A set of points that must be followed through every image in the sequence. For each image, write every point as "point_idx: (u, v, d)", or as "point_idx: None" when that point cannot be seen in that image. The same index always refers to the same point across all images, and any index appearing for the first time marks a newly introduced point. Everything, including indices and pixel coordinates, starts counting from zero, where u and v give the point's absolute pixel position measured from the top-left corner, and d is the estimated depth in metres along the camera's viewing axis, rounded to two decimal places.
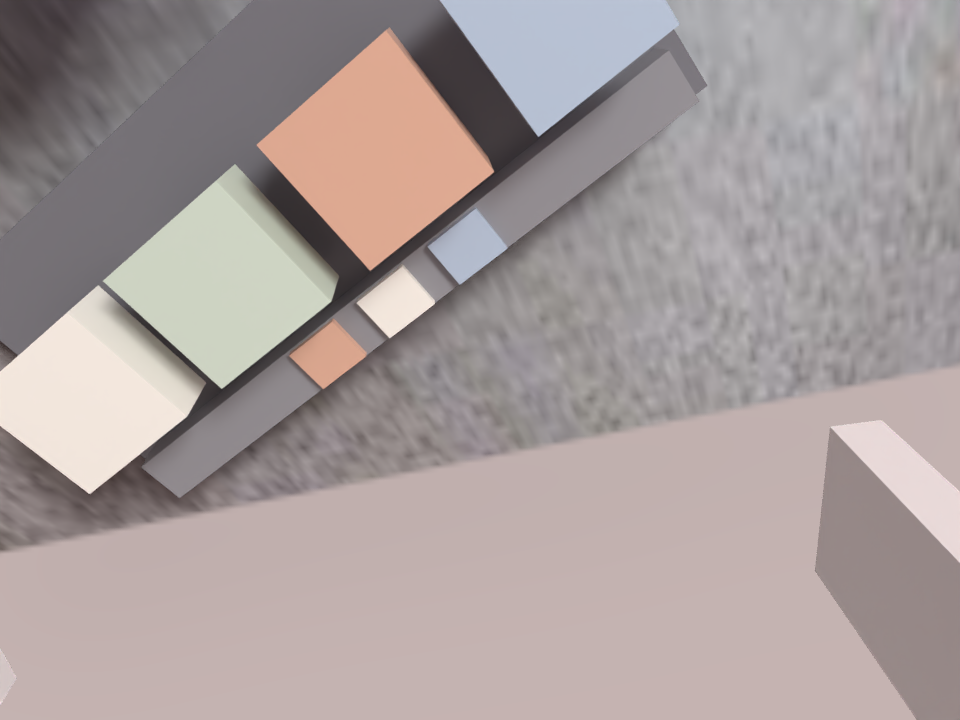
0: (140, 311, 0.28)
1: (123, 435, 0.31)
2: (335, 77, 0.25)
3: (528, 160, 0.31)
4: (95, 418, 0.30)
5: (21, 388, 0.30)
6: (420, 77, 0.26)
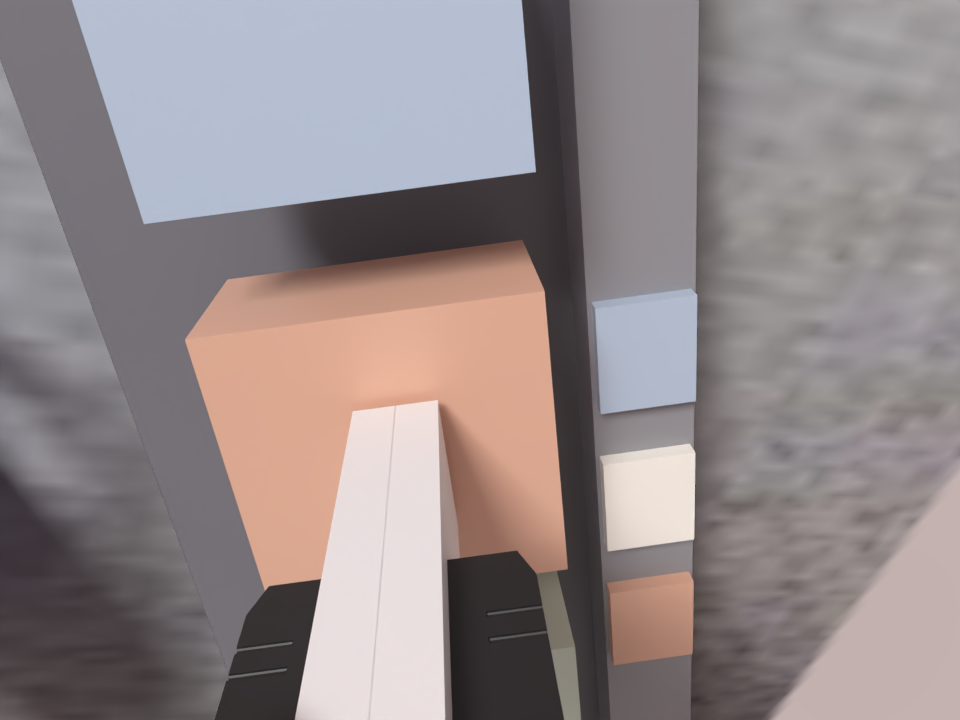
0: None
1: None
2: (225, 456, 0.13)
3: (577, 167, 0.15)
4: None
5: None
6: (297, 326, 0.12)
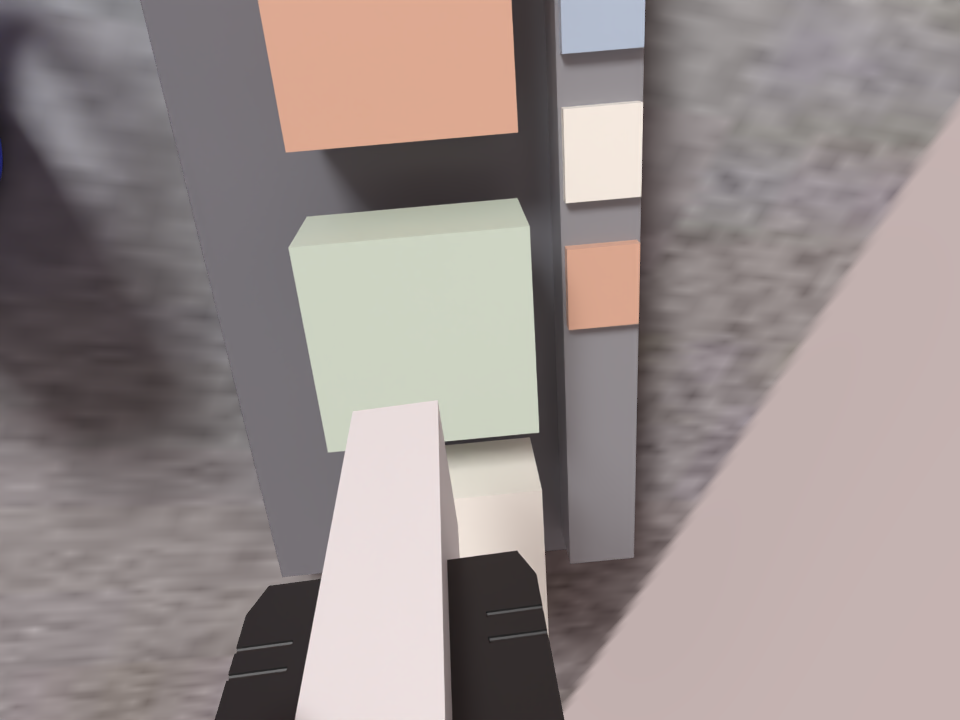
0: None
1: None
2: None
3: None
4: None
5: None
6: None
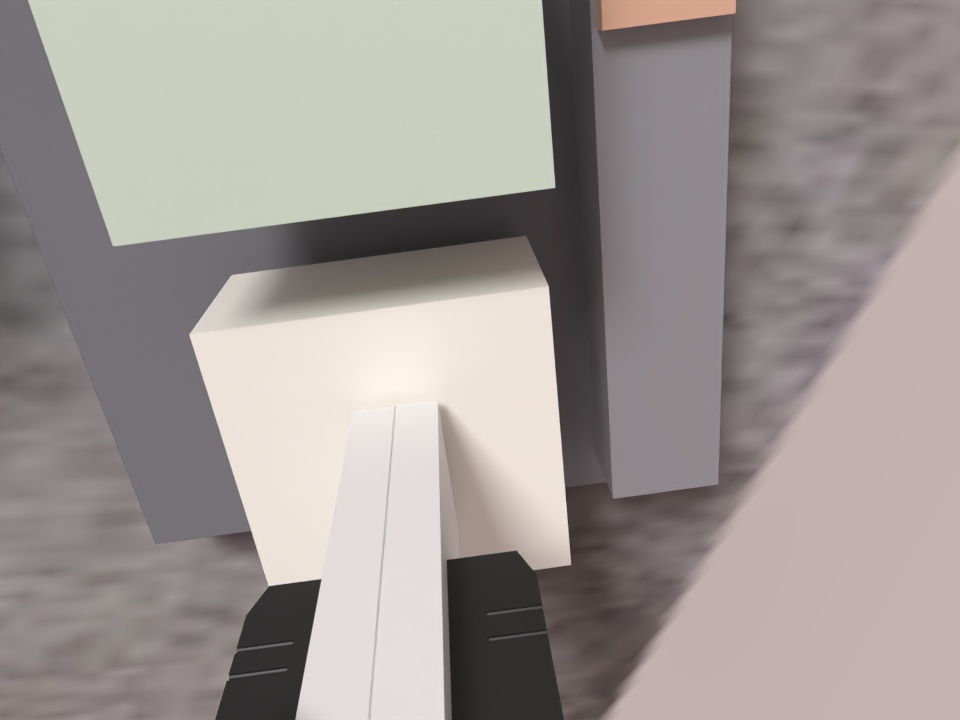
0: (237, 221, 0.10)
1: (503, 430, 0.13)
2: None
3: None
4: None
5: (301, 517, 0.14)
6: None
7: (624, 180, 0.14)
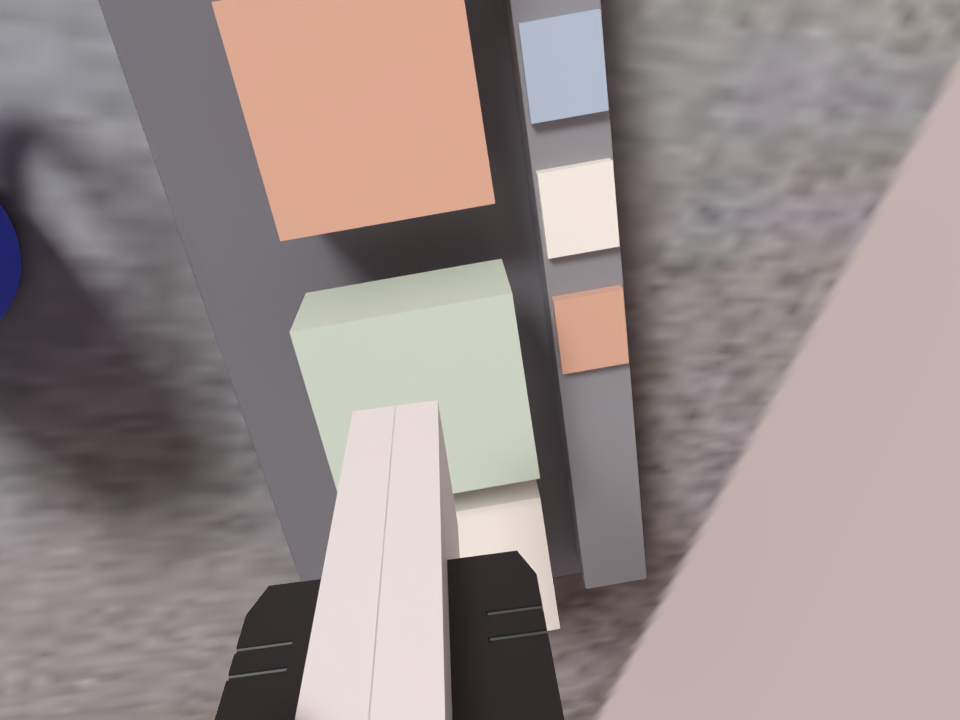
0: None
1: None
2: (242, 101, 0.19)
3: None
4: None
5: None
6: None
7: (579, 432, 0.26)
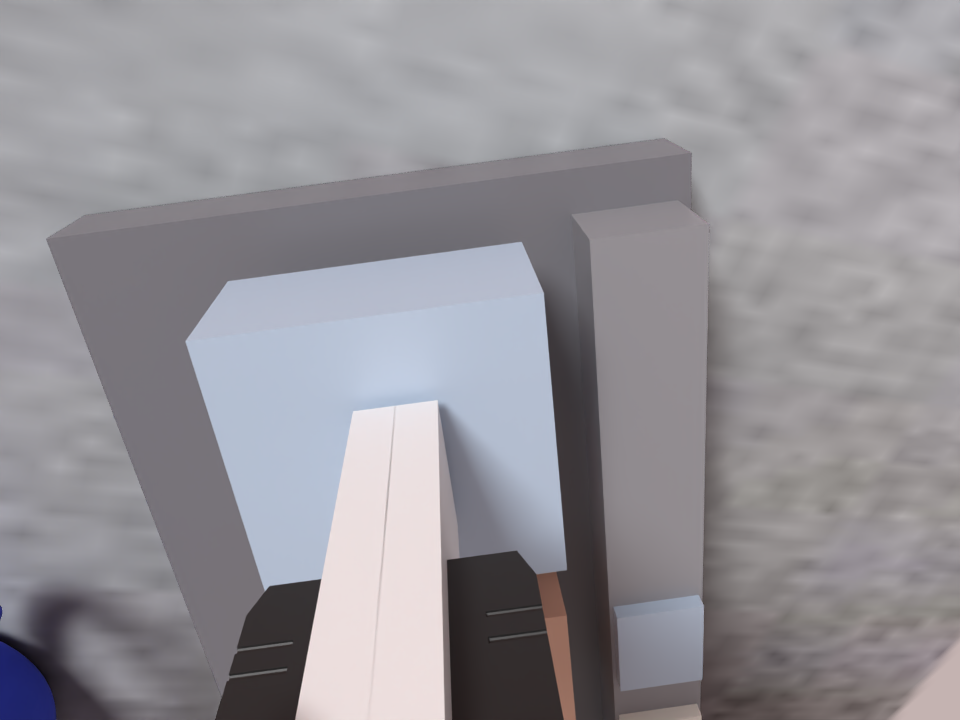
0: None
1: None
2: None
3: (602, 512, 0.18)
4: None
5: None
6: None
7: None
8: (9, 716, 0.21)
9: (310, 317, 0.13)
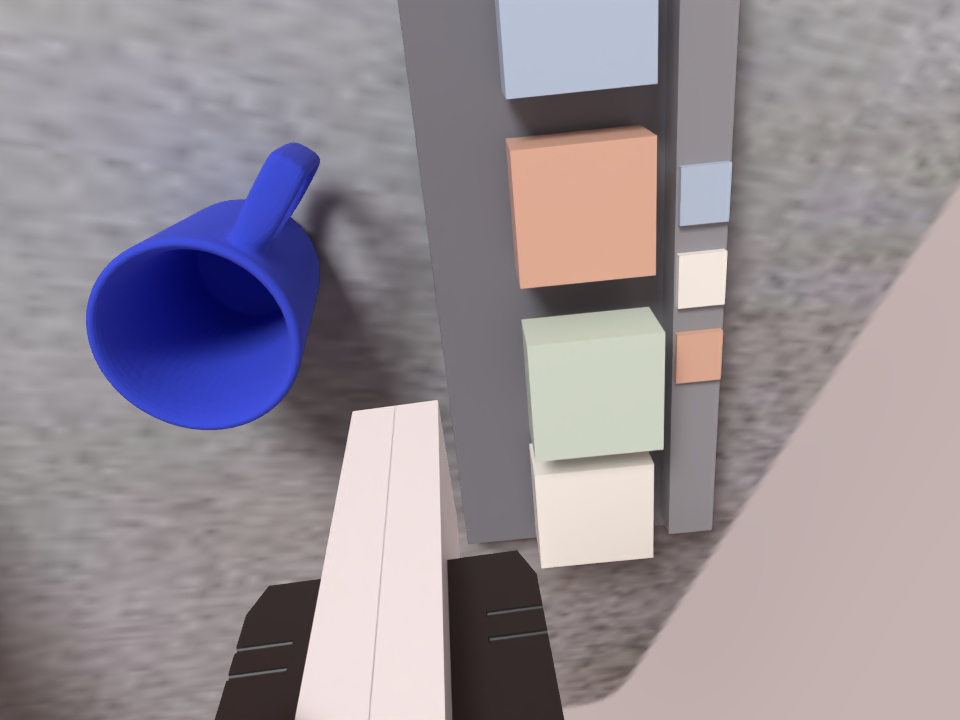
0: (571, 456, 0.35)
1: (633, 509, 0.38)
2: (515, 206, 0.31)
3: (676, 96, 0.31)
4: (609, 514, 0.38)
5: (558, 536, 0.39)
6: (555, 146, 0.30)
7: (680, 423, 0.38)
8: (308, 247, 0.35)
9: None
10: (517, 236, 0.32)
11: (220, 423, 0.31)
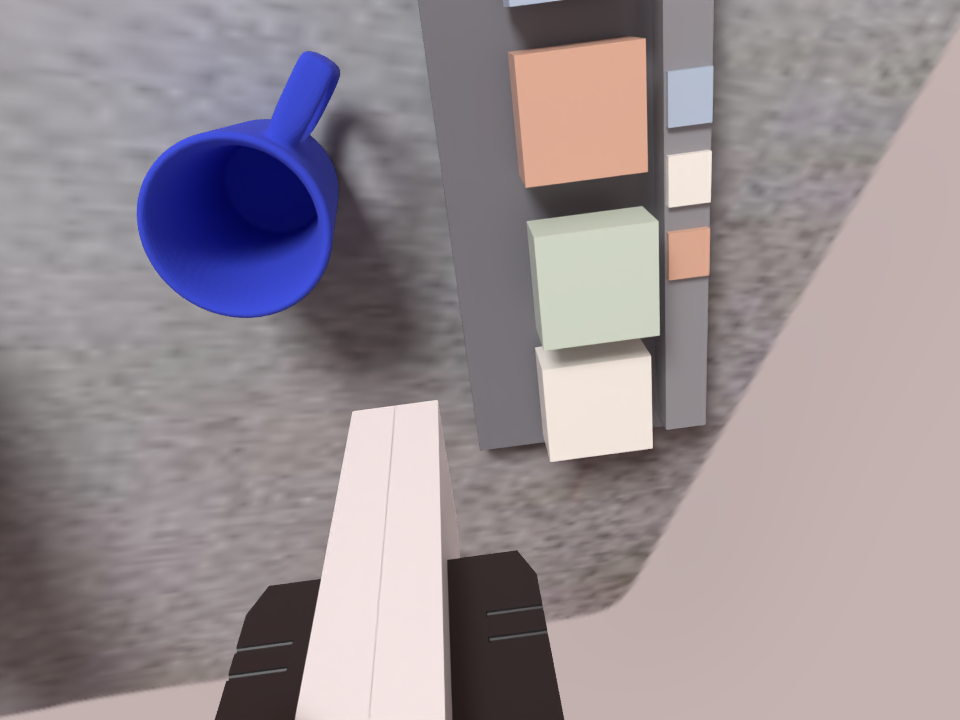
0: (576, 344, 0.38)
1: (633, 400, 0.42)
2: (520, 108, 0.34)
3: (661, 6, 0.35)
4: (611, 406, 0.42)
5: (564, 429, 0.42)
6: (554, 51, 0.33)
7: (673, 320, 0.42)
8: (329, 161, 0.38)
9: None
10: (522, 137, 0.35)
11: (258, 311, 0.34)
